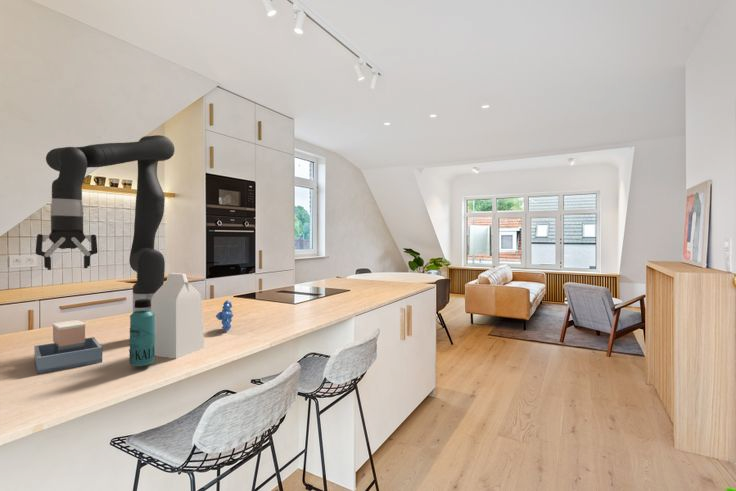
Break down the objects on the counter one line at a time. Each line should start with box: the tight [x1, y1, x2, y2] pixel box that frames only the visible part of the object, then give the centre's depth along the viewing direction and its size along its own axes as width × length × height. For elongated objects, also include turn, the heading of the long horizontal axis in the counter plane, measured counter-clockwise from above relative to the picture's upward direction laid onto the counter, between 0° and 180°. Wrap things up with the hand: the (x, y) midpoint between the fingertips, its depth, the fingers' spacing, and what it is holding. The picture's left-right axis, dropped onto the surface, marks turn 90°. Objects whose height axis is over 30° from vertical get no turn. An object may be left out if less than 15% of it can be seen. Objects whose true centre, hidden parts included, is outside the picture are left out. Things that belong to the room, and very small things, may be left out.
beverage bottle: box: [128, 299, 156, 367], centre depth 107 cm, size 6×7×20 cm
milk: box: [151, 272, 205, 360], centre depth 122 cm, size 12×12×26 cm
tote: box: [33, 336, 103, 375], centre depth 112 cm, size 15×15×4 cm
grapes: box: [215, 299, 234, 332], centre depth 150 cm, size 12×7×12 cm, turn 15°
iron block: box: [53, 342, 84, 355], centre depth 112 cm, size 6×8×5 cm
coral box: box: [52, 319, 86, 346], centre depth 111 cm, size 6×8×6 cm
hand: (67, 268), depth 111 cm, fingers open, 8 cm apart
